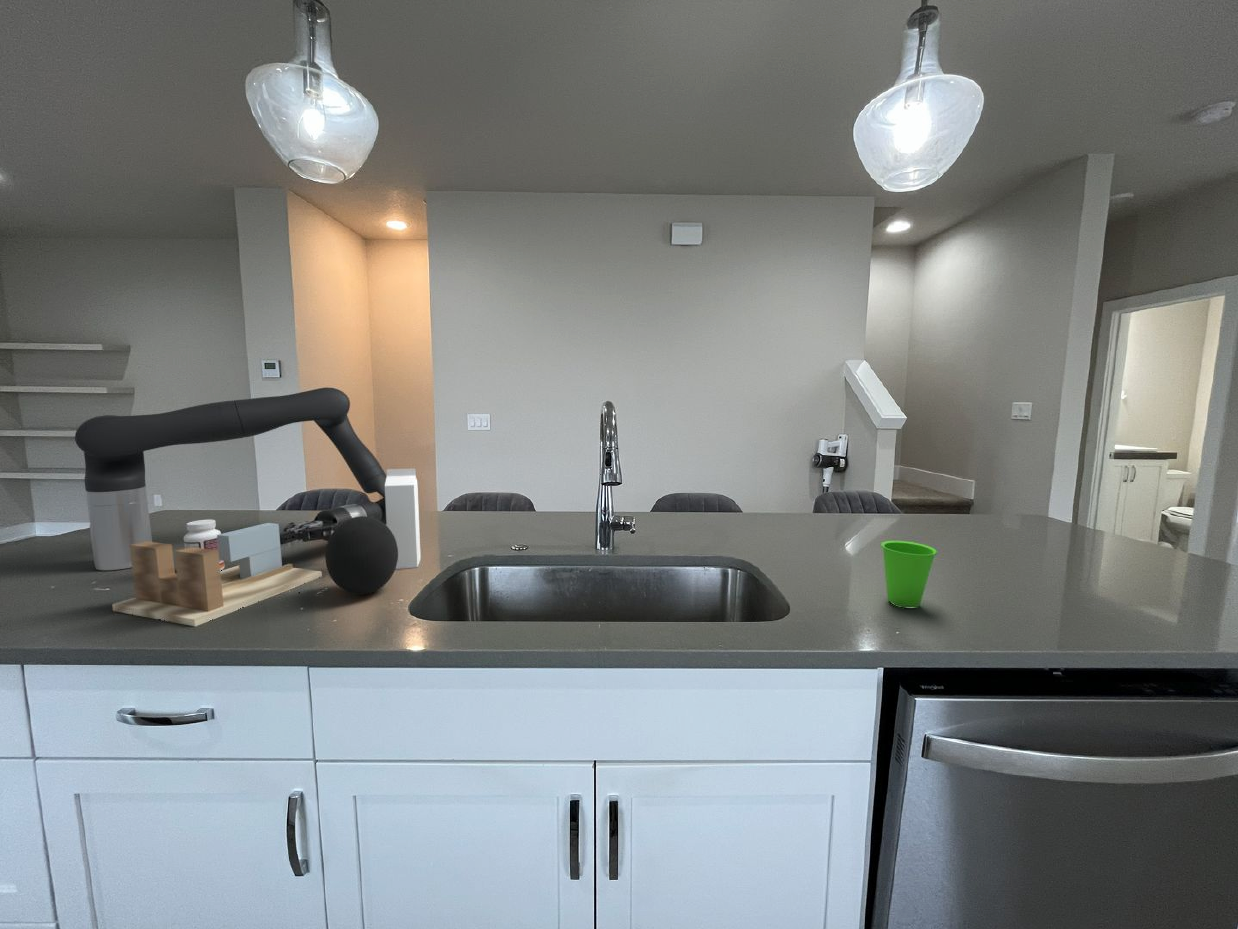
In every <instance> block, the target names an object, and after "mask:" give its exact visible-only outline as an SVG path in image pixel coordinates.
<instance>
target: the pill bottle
mask: <svg viewBox="0 0 1238 929" xmlns="http://www.w3.org/2000/svg"><path fill="white" fill-rule="evenodd" d="M216 523H217V522H216V520H215V519H200V520H193V521H190V522H187V523H186V529H187V531H188V532H187V533H186V534H185V535H184V536H183V544H184V548H188V547H194V548H202V549H210V550H218V540H217V535H219V534H222V533H221V531H220V530H219V529H216V526H217V524H216ZM218 553H219V550H218ZM219 564H220V571H221V570H225V566H226V565H225V561H222V560H219Z"/></svg>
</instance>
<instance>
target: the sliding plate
mask: <svg viewBox="0 0 1238 929" xmlns="http://www.w3.org/2000/svg"><path fill="white" fill-rule="evenodd" d="M279 533H280V525H279V523H272V522H266V523H262V524H258V525H257V524H256V525H253V526H249V527H245V528H241V529H236V530H233V531H232V530H231V531H229V532H223V533H221V534H219V535H217V540H218V550H219V560H222V561H224V562H229V563H231V562H232V563H233V562H234V561H238V566H239V570H240V579H245V578H248V577H251V576H254V575H257V574H260V573H263V572H266V571H269V570H272V569H275V568H278V567H281V566H283V561H282V551H281V550H282V549H281V545H280V535H279Z"/></svg>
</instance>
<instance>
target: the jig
mask: <svg viewBox="0 0 1238 929" xmlns="http://www.w3.org/2000/svg"><path fill="white" fill-rule="evenodd" d="M129 546H130V554H131V562H132V567H131V569H132V578H133V587H134V594H135V597H131V598H129V599H124V600H122V601H119V602H118V601H117V602H115V603H113V604H111V606H112V611H113V612H118V613H122V614H128V615H132V614H133V616H137V617H138V616H139V617H142V618H148V619H154V620H158V619H161V620H160V621H164V620H165V621H164V622H169V621H170V622H169V623H175V624H180V625H186V626H190V627H198V626H200V625H204V624H205V623H208V622H210V620H211V621H212V619H213V620H215V619H218V618H220V617H221V618H222V617H224V616H227V615H229V614H231V613H233V612H237V611H239V610H241V609H243V608H242V607H244V608H246V607H249V606H252V605H254V604H257V603H259V602H262V601H264V600H266V599H269V598H272V597H274V596H276V595H279V594H282V593H285V592H287V591H289V590H292V589H294V588H297V587H300V586H302V585H304V583H305V584H308V583H311V582H313V581H315V580H317V579H320V578H323V577H322V576H323V575H322V571H320V570H314V569H313V570H312V569H305V568H299V567H298V568H297V567H293V563H287V564H284V565H282V566H281V567H278V568H275V569H272V570H269V571H266V572H263V573H260V574H257V575H254V576H251V577H248V578H245V579H240V570H239V565H236V566H233V567H229V568H226V569H223V570H222V571H220V564H219V553H218V550H210V549H202V548H194V547H188V548H185V547H184V548H181V549H176V550H174V552H173V545H172V544H169V543H161V542H155V541H152V542H148V541H145V542H140V543H136V544H131V545H129ZM174 557H175V558H174ZM174 559H175V560H174ZM174 562H175V563H174ZM175 566H176V568H175ZM175 569H176V570H175ZM319 577H320V578H319ZM258 601H259V602H258ZM240 608H241V609H240ZM238 609H239V610H238Z"/></svg>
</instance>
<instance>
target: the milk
mask: <svg viewBox="0 0 1238 929" xmlns="http://www.w3.org/2000/svg"><path fill="white" fill-rule="evenodd" d="M385 474H386V475H387V477H386V482H385V503H386V523H387V524H386V526H387V527H388V528H389V529H390V530H391V532H392V533H393V535H394V537H395V540H396V543H397V547H398V561H397V565H396V569H395V570H401V569H415V568H418V567H419V564H420V562H421V560H422V559H421V539H420V538H421V537H420V536H421V535H420V515H419V514H420V512H419V508H420V507H419V490H418V488H419V487H418V485H419V484H418V479H417V476H416V469H415V468H396V469H395V468H392V469H391V468H388V469H386V472H385Z"/></svg>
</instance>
